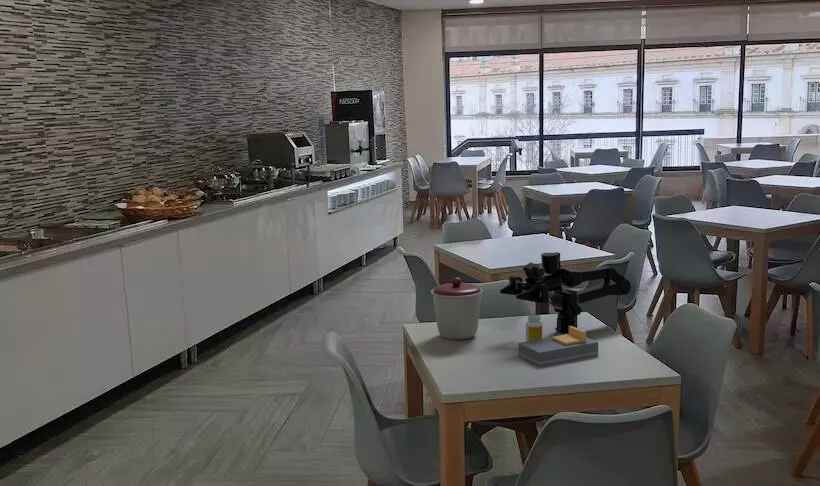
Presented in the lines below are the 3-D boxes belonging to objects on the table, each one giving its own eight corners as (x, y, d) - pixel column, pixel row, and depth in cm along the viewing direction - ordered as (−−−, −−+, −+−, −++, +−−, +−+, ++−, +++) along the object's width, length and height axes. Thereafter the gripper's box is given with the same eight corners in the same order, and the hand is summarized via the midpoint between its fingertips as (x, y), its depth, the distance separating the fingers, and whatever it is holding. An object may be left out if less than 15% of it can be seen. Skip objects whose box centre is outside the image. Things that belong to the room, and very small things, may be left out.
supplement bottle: (523, 343, 257) (522, 315, 255) (536, 340, 259) (535, 313, 258) (532, 346, 252) (532, 318, 251) (545, 344, 254) (545, 316, 253)
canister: (424, 333, 273) (422, 275, 270) (470, 326, 279) (469, 270, 276) (444, 346, 256) (442, 285, 253) (492, 339, 262) (491, 279, 259)
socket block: (575, 344, 253) (575, 333, 252) (598, 354, 242) (598, 342, 241) (518, 354, 244) (518, 342, 243) (539, 365, 233) (539, 352, 233)
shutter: (571, 335, 249) (571, 325, 248) (586, 341, 242) (586, 331, 241) (551, 339, 246) (551, 329, 245) (565, 345, 239) (565, 335, 238)
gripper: (526, 257, 269) (490, 266, 262) (561, 266, 253) (523, 276, 246) (529, 287, 272) (493, 297, 265) (563, 298, 255) (525, 309, 249)
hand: (508, 294), depth 256 cm, fingers open, 9 cm apart
